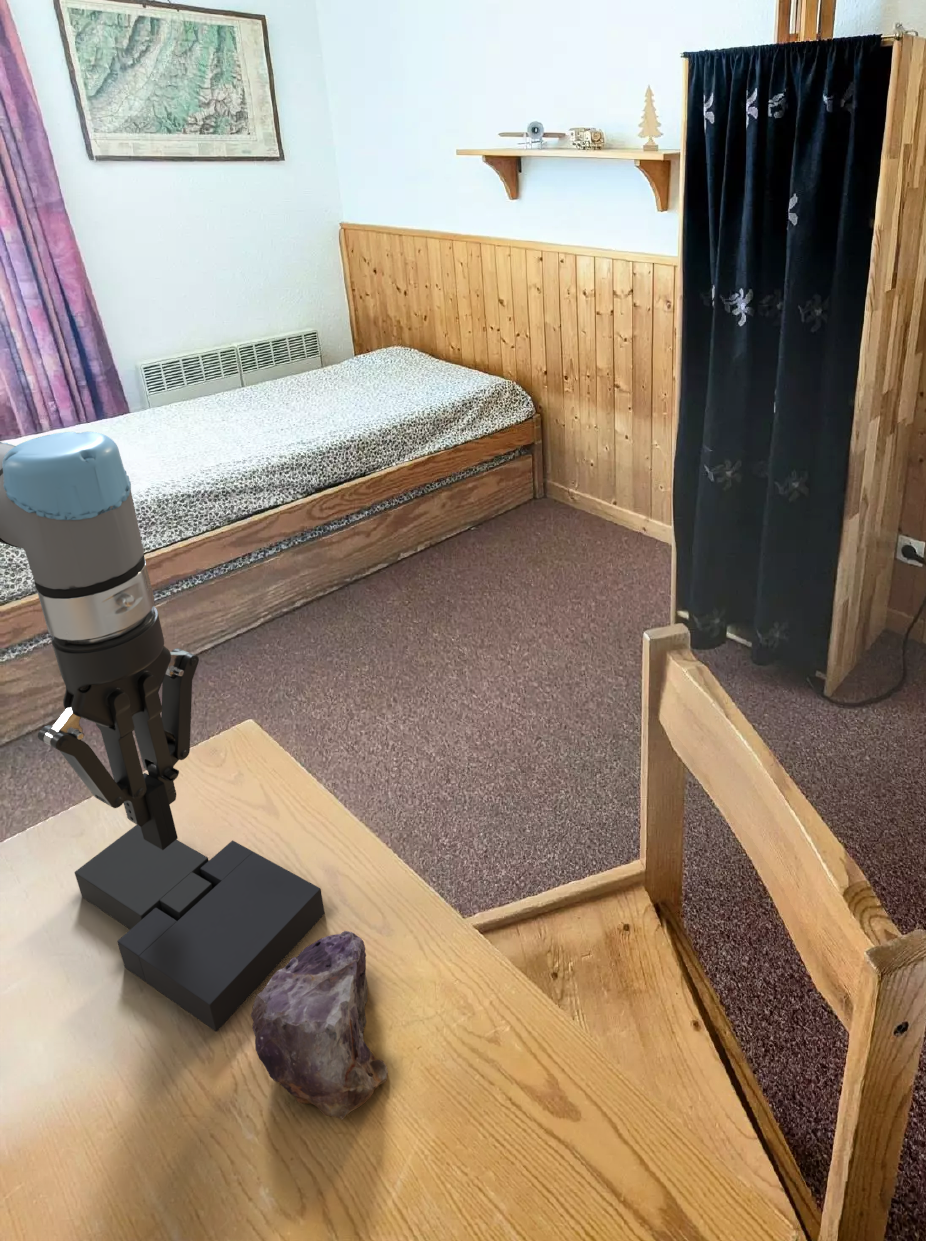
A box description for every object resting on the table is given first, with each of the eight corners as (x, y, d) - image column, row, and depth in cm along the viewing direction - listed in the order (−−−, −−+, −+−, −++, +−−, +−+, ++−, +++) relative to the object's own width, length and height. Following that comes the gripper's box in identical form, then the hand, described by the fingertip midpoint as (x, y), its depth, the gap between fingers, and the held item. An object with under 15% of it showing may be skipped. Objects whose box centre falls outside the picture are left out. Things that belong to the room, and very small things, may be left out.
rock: (386, 989, 71) (266, 1019, 68) (380, 906, 69) (255, 934, 66) (389, 1120, 60) (245, 1163, 57) (381, 1026, 58) (232, 1065, 55)
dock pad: (126, 973, 71) (116, 941, 70) (238, 869, 81) (232, 840, 80) (217, 1038, 66) (209, 1005, 64) (325, 919, 76) (320, 888, 74)
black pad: (83, 902, 77) (73, 872, 76) (150, 848, 83) (142, 819, 82) (169, 960, 72) (160, 929, 71) (234, 899, 78) (228, 868, 76)
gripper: (48, 678, 58) (118, 913, 66) (205, 592, 69) (248, 803, 77) (-10, 650, 61) (63, 877, 69) (149, 572, 72) (196, 777, 80)
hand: (160, 838), depth 73 cm, fingers closed
